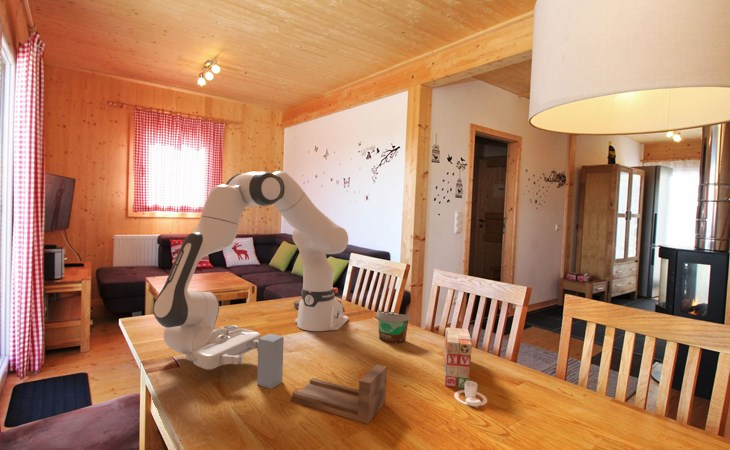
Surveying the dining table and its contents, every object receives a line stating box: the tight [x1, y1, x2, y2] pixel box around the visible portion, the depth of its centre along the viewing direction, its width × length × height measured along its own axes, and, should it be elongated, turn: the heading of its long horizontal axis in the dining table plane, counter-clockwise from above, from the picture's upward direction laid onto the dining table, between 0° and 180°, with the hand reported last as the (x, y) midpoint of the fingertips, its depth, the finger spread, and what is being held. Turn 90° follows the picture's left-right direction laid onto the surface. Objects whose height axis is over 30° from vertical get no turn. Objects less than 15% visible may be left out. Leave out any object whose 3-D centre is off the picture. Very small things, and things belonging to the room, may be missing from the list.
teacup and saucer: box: [453, 380, 488, 407], centre depth 99 cm, size 9×8×4 cm
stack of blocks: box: [444, 326, 473, 390], centre depth 114 cm, size 21×6×12 cm, turn 170°
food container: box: [375, 308, 412, 345], centre depth 137 cm, size 12×6×10 cm, turn 68°
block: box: [256, 333, 285, 390], centre depth 102 cm, size 4×4×12 cm
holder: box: [290, 363, 388, 425], centre depth 94 cm, size 10×20×9 cm, turn 66°
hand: (252, 354), depth 105 cm, fingers open, 8 cm apart
